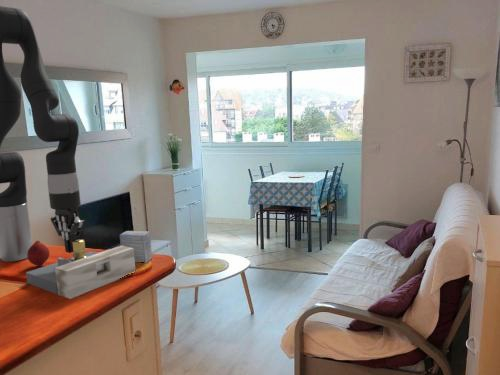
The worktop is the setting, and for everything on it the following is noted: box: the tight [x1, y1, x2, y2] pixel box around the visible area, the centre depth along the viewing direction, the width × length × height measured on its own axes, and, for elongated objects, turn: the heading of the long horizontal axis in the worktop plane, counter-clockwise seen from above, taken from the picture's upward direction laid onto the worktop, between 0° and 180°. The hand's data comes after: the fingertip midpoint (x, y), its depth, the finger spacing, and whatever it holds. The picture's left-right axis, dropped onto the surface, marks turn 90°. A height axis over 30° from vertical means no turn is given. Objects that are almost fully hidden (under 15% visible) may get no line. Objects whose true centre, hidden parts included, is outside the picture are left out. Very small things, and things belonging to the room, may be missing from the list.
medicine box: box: [119, 230, 153, 264], centre depth 126 cm, size 8×4×9 cm, turn 78°
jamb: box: [55, 245, 136, 300], centre depth 110 cm, size 5×20×7 cm, turn 145°
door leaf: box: [25, 251, 99, 295], centre depth 115 cm, size 14×20×5 cm
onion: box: [27, 239, 50, 267], centre depth 124 cm, size 6×6×8 cm
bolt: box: [68, 239, 104, 272], centre depth 112 cm, size 11×3×7 cm, turn 55°
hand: (70, 251), depth 116 cm, fingers closed
